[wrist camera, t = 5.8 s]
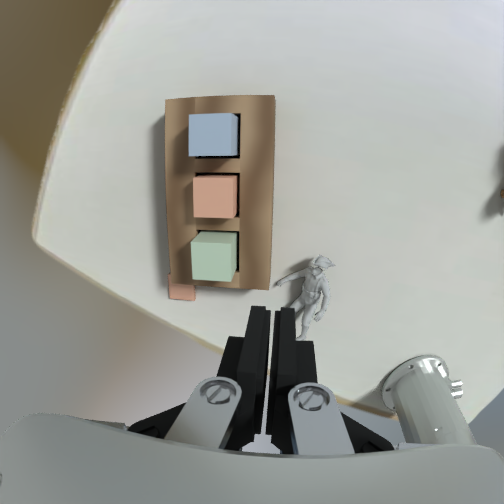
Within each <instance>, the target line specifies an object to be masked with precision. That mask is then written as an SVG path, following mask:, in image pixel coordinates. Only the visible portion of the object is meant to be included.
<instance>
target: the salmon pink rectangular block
mask: <svg viewBox="0 0 504 504" xmlns="http://www.w3.org/2000/svg"><path fill="white" fill-rule="evenodd" d="M193 205H194V217H203V218H234V216H235V215H236V214H237V212H238V211H239V209H240V174H222V173H206V174H203V175H200V176H197V177H194V178H193Z"/></svg>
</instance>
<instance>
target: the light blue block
mask: <svg viewBox="0 0 504 504" xmlns="http://www.w3.org/2000/svg"><path fill="white" fill-rule="evenodd" d="M239 126H240V118H238V117H237V116H235V115H234V114H232V113H213V114H192V115H189V156H233V155H239Z"/></svg>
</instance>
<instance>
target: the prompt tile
mask: <svg viewBox="0 0 504 504" xmlns="http://www.w3.org/2000/svg"><path fill="white" fill-rule="evenodd" d="M168 283H169V293H170V298H171V299H181V300H192V301H195V299H196V298H195V285H184V284H172V283H171V273H169V274H168Z"/></svg>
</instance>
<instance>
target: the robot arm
mask: <svg viewBox="0 0 504 504" xmlns="http://www.w3.org/2000/svg"><path fill="white" fill-rule="evenodd" d="M270 317H271V310H266V306H251V310H250V315H249V320H248V324H247V329H246V333H245V337H233V336H229V337H228V340H227V343H226V347H225V350H224V353H223V357H222V360H221V364H220V367H219V370H218V373H217V376H216V377H211V378H208V379H205V380H203V381H202V382H200V383H199V384H198V385H197V386H196V388H195V389H194V391H193V393H192V394H191V396H190V398H189V399H188V401H187V402H186V403H183V404H181V405H179V406H176V407H174V408H171V409H169V410H167V411H164V412H162V413H160V414H157V415H154V416H151V417H149V418H146V419H144V420H141V421H138V422H136V423H134V424H133V425H131V426H130V427H129V426H126V425H125V423H117V422H105V421H96V420H88V419H81V418H77V417H72V416H68V415H60V414H47V413H37V414H29V415H27V416H23V417H22V418H20V419H18V420H17V421H16V422H14V423H13V424H12V425H11V426H10V427H9V428H8V429H7V430H6V431H5V432H4V433H3V434H2V435H1V436H0V504H504V458H503V457H502V456H501V455H500V454H499V453H498V452H497V451H495V450H493V449H491V448H488V447H484V446H480V445H477V443H476V441H475V439H474V437H473V435H472V433H471V431H470V428H469V426H468V424H467V422H466V420H465V418H464V416H463V414H462V412H461V410H460V408H459V406H458V404H457V402H456V400H455V399H458V398H461V397H462V389H461V388H458V387H461V386H462V381H461V380H456V381H451V380H450V379H449V378H448V376H449V370H448V367H447V365H446V363H445V362H444V361H443V360H442V359H441V358H439V357H437V356H432V355H427V356H420V357H416V358H414V359H411V360H409V361H407V362H405V363H404V364H402V365H401V366H399V367H398V368H397V369H396V370H394V371H393V372H392V373H391V374H390V376H389V377H388V378H387V380H386V381H385V383H384V385H383V388H382V399H383V402H384V404H385V405H386V406H387V407H388V408H389V409H391V410H394V411H396V412H397V416H398V419H399V422H400V425H401V428H402V431H403V435H404V438H405V441H406V443H399V444H398V445H397V446H396V445H395V446H394V445H392V444H391V443H390V442H389V441H387V440H386V439H385V438H383V437H381V436H379V435H378V434H376V433H374V432H373V431H371V430H369V429H368V428H366V427H364V426H363V425H361V424H359V423H358V422H356V421H355V420H353V419H351V418H350V417H348V416H346V415H345V414H343V413H342V412H340V410H339V407H338V404H337V401H336V399H335V396H334V394H333V392H332V391H331V390H330V389H329V388H328V387H326V386H324V385H322V384H318V382H317V372H316V362H315V353H314V344H313V341H298V340H296V329H295V308H284V307H281V311H275V320H274V332H273V345H272V357H271V368H270V381H269V395H268V409H267V423H266V434H267V435H272V437H271V443H272V444H274V445H275V446H276V447H277V448H278V449H280V454H267V453H254V452H243V451H242V447H243V446H245V445H247V444H248V443H250V442H254V435H255V434H261V426H262V417H263V408H264V398H265V388H266V380H267V369H268V354H269V336H270ZM452 388H457V389H452ZM451 389H452V390H451Z"/></svg>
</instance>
